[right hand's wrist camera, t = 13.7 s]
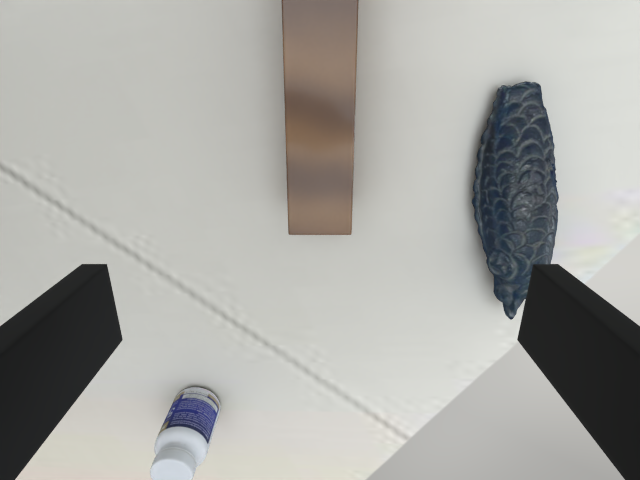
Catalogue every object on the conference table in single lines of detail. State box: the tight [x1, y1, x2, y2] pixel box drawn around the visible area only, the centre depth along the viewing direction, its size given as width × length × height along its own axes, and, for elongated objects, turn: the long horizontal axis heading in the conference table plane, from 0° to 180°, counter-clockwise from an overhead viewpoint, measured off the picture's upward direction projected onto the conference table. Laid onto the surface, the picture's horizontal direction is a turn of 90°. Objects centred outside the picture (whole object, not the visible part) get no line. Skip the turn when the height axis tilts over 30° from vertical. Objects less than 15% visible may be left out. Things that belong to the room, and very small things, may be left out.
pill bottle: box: [150, 387, 220, 480], centre depth 42 cm, size 5×5×9 cm
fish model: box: [472, 82, 559, 319], centre depth 35 cm, size 7×21×5 cm, turn 8°
